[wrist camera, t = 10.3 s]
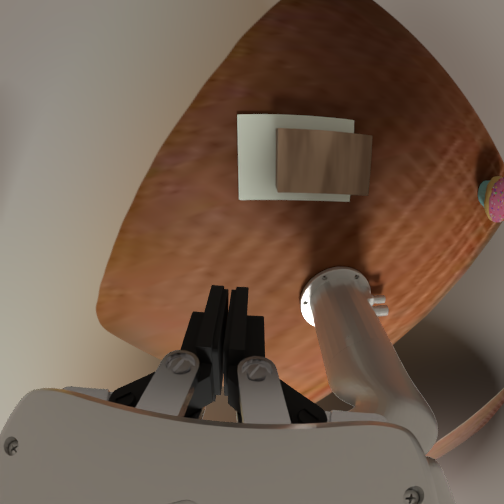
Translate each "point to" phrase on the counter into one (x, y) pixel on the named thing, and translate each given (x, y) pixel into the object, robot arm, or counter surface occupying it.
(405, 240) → the counter surface
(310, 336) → the counter surface
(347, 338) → the robot arm
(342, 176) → the slab
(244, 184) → the mat
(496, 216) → the cupcake
